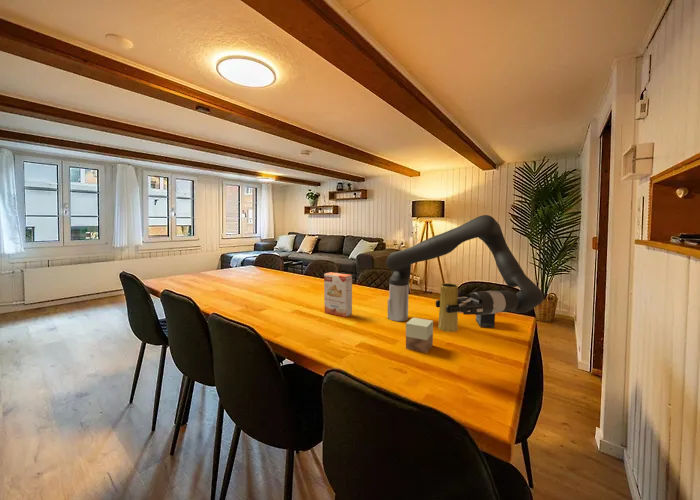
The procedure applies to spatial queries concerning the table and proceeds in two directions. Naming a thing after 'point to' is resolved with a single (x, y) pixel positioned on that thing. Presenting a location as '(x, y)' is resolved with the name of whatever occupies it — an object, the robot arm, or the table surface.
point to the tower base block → (419, 344)
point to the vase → (446, 298)
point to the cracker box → (338, 294)
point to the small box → (486, 320)
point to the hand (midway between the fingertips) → (441, 306)
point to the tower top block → (419, 328)
